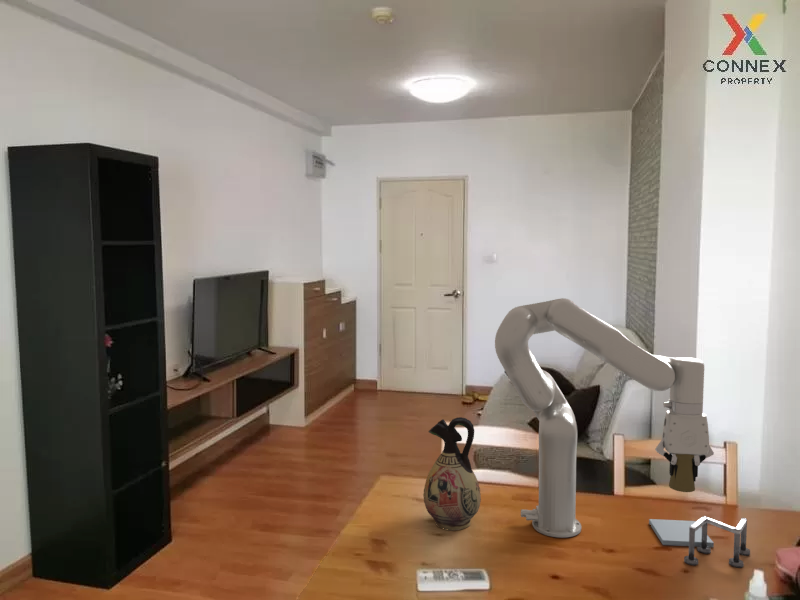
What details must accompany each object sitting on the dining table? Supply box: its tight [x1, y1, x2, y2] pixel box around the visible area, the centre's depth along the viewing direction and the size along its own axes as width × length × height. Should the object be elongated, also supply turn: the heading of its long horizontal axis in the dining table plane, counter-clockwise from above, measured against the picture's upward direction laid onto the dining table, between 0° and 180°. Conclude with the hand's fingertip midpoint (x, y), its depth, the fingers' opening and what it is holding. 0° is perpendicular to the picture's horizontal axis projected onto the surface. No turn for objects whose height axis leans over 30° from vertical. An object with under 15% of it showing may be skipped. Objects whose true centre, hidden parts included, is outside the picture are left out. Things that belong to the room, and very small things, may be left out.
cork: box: [668, 454, 696, 493], centre depth 151 cm, size 6×6×11 cm
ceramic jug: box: [422, 416, 482, 531], centre depth 161 cm, size 17×15×30 cm
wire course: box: [683, 515, 751, 569], centre depth 144 cm, size 17×9×9 cm, turn 83°
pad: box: [648, 518, 715, 548], centre depth 155 cm, size 12×12×1 cm
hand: (683, 478), depth 152 cm, fingers closed on cork, 3 cm apart
